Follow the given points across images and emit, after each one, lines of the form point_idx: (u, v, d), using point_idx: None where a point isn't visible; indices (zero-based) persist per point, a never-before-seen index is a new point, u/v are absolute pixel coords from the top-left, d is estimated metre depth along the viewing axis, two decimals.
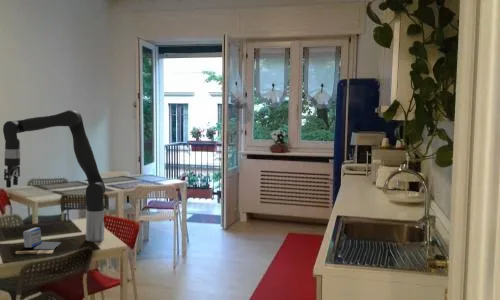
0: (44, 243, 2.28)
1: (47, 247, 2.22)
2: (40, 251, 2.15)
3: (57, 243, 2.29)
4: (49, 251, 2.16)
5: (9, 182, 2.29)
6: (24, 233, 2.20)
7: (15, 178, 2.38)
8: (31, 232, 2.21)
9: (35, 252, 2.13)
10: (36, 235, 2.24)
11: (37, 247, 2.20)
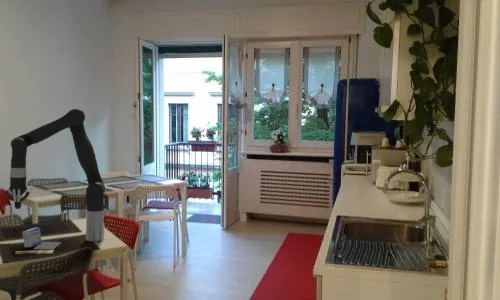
0: (44, 243, 2.28)
1: (47, 247, 2.22)
2: (40, 251, 2.15)
3: (57, 243, 2.29)
4: (49, 251, 2.16)
5: None
6: (23, 233, 2.21)
7: None
8: (30, 231, 2.21)
9: (35, 252, 2.13)
10: (36, 235, 2.24)
11: (37, 247, 2.20)
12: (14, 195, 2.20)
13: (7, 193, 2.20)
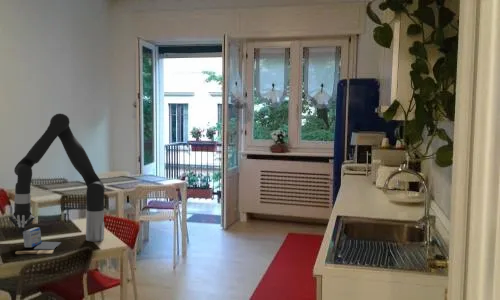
0: (44, 243, 2.28)
1: (47, 247, 2.22)
2: (40, 251, 2.15)
3: (57, 243, 2.29)
4: (49, 251, 2.16)
5: None
6: (24, 233, 2.20)
7: None
8: (31, 232, 2.21)
9: (35, 252, 2.13)
10: (36, 235, 2.24)
11: (37, 247, 2.20)
12: (18, 221, 2.21)
13: (11, 219, 2.21)
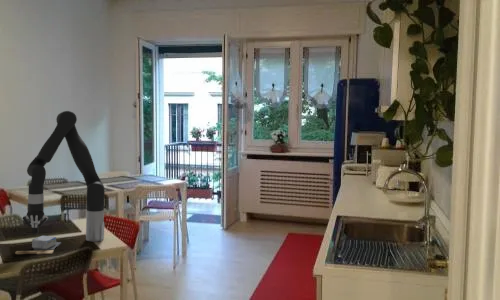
0: None
1: None
2: (40, 251, 2.15)
3: (57, 243, 2.29)
4: (49, 251, 2.16)
5: None
6: (44, 242, 2.18)
7: None
8: None
9: (35, 252, 2.13)
10: None
11: None
12: (32, 221, 2.22)
13: (25, 219, 2.22)
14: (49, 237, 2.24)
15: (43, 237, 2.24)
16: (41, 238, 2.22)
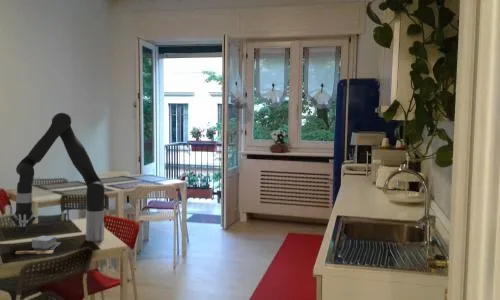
0: None
1: None
2: (40, 251, 2.15)
3: (57, 243, 2.29)
4: (49, 251, 2.16)
5: None
6: (44, 242, 2.18)
7: None
8: None
9: (35, 252, 2.13)
10: None
11: None
12: (20, 220, 2.21)
13: (13, 218, 2.21)
14: (49, 237, 2.24)
15: (43, 237, 2.24)
16: (41, 238, 2.22)
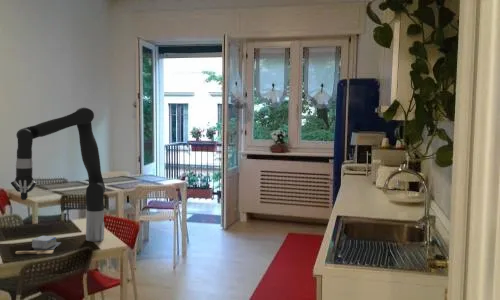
0: None
1: None
2: (40, 251, 2.15)
3: (57, 243, 2.29)
4: (49, 251, 2.16)
5: None
6: (44, 242, 2.18)
7: None
8: None
9: (35, 252, 2.13)
10: None
11: None
12: (20, 186, 2.20)
13: (13, 184, 2.20)
14: (49, 237, 2.24)
15: (43, 237, 2.24)
16: (41, 238, 2.22)
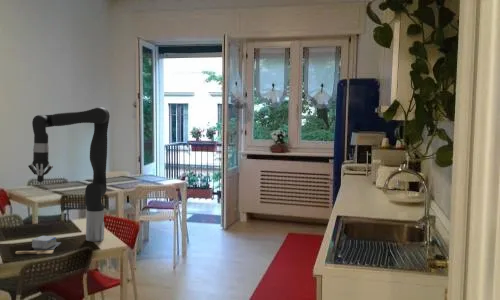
0: None
1: None
2: (40, 251, 2.15)
3: (57, 243, 2.29)
4: (49, 251, 2.16)
5: None
6: (44, 242, 2.18)
7: None
8: None
9: (35, 252, 2.13)
10: None
11: None
12: (37, 169, 2.33)
13: (30, 167, 2.33)
14: (49, 237, 2.24)
15: (43, 237, 2.24)
16: (41, 238, 2.22)
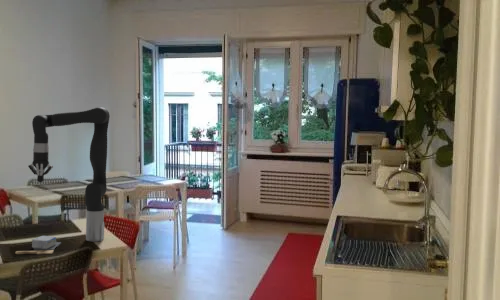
0: None
1: None
2: (40, 251, 2.15)
3: (57, 243, 2.29)
4: (49, 251, 2.16)
5: None
6: (44, 242, 2.18)
7: None
8: None
9: (35, 252, 2.13)
10: None
11: None
12: (37, 169, 2.33)
13: (30, 167, 2.33)
14: (49, 237, 2.24)
15: (43, 237, 2.24)
16: (41, 238, 2.22)
